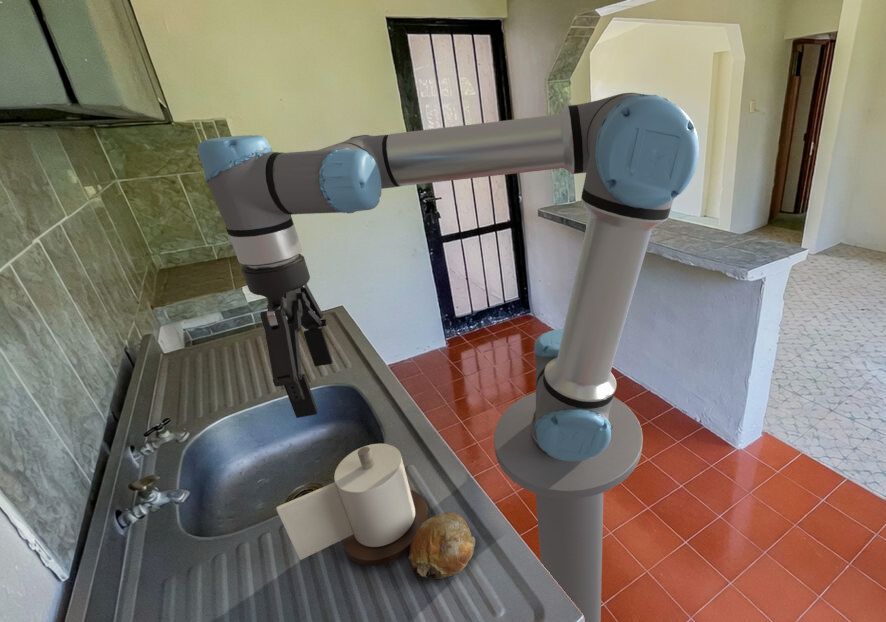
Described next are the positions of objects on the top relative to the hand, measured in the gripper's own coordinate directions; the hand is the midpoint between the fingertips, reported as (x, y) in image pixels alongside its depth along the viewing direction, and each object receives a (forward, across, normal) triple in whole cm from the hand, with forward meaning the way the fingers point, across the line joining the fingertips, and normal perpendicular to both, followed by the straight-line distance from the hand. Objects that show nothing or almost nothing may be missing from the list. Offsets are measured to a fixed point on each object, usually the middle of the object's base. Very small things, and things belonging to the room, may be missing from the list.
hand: (316, 387), depth 71 cm
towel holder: (+26, +7, +6) cm, 27 cm away
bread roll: (+26, +15, +15) cm, 34 cm away
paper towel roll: (+24, +7, +2) cm, 25 cm away
